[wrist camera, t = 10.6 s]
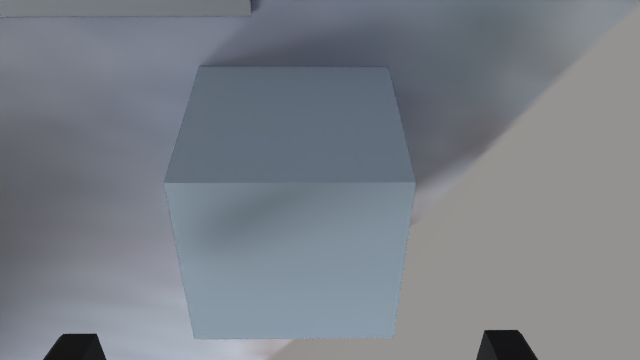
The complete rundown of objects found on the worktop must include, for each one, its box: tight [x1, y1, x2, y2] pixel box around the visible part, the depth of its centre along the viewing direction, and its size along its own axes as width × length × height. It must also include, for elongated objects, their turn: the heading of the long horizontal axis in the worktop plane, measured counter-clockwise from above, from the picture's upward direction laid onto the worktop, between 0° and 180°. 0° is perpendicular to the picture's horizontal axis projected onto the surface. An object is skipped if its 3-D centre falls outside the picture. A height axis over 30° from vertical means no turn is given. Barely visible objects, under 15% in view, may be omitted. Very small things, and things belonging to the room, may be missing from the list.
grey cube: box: [164, 67, 416, 339], centre depth 15 cm, size 5×5×5 cm
